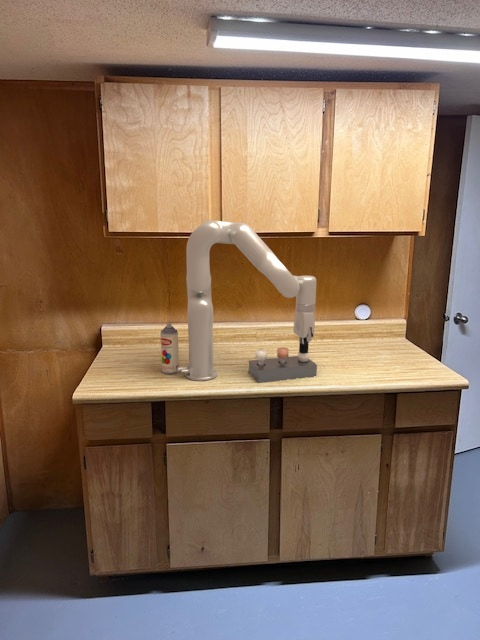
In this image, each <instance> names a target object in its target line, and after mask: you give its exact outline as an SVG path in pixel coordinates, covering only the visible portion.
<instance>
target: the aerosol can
mask: <svg viewBox="0 0 480 640" xmlns="http://www.w3.org/2000/svg"><path fill="white" fill-rule="evenodd" d="M160 350H161V351H160V353H161V355H160V357H161V373H162V374H164V375H175V374H178V373H179V372H177V367H180V358H179V355H180V354H179V332H178V330H177V329H176V328H175V327H174V326H172V323H171V322H166V326H165V327H163V329H161V331H160Z"/></svg>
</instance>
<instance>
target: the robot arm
mask: <svg viewBox="0 0 480 640" xmlns="http://www.w3.org/2000/svg"><path fill="white" fill-rule="evenodd" d="M215 244H227V245H235V246H236V247H237V248H238V250H239V251H240V252H241V253H242V254H243V255H244V256H245V257H246V258H247V259H248V260H249V262H251V264H252V265H253V266H254V267H255V268H256V269H257V271H258V272H260V273H261V274H263V275H264V276H265V277H266V278H267V279H268V281H270V282H271V284H272V285H273V286H274V287H275V288H276V290H277V291H278V292H279V293H280V294H281V295H282V296H283V297H285V298H287V299H292V298H295V313H294V320H293V333H294V334H295V335H297V336H298V343H299V345H298V346H299V347H298V352H300V353H301V354H302V353H308V352H309V345H310V342H312V338H314V336H315V331H316V330H315V312H316V301H317V298H316V297H317V278H316V277H315V276H314V275H293V274H292V272H291V271H289V270H288V268H287V267H286V266H285V265H284V264H283V263H282V262H281V261H280V260H279V258H278V257H277V256H276V255H275V253H274V252H273V251H272V250H271V248H269V246H268V245H267V244H266V243H265V241H263V240H262V238H261V237H260V236H259V235H258V234H257V232H255V230H254V229H253V228H252V227H251V226H249V225H248V223H245V222H239V221H238V222H234V221H225V220H224V221H223V220H213V219H212V220H211V219H209V220H205V221H204V222H202V223H201V224H200V225H199V226H197V227H196V228H195V229H194V230H193V231H192V232H191V234H190V235H189V237H188V240H187V243H186V253H185V255H186V278H185V279H186V290H187V292H186V293H187V294H186V295H187V331H188V332H187V334H188V335H187V337H188V363H187V365H184V366H179V367H177V372H178V373H181V374H185V378H186V379H189V380H191V381H199V382H200V381H201V382H202V381H210V380H213V379H215V378H216V377H217V376H218V370H216V369H215V368H214V305H213V301H212V300H213V299H212V276H211V270H210V269H211V268H210V251H211V247H212V246H213V245H215Z"/></svg>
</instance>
